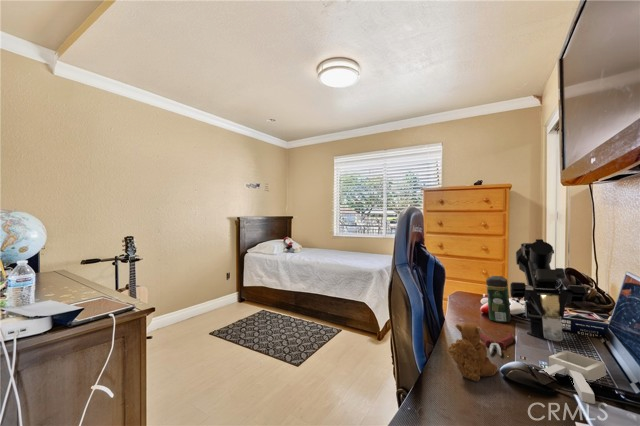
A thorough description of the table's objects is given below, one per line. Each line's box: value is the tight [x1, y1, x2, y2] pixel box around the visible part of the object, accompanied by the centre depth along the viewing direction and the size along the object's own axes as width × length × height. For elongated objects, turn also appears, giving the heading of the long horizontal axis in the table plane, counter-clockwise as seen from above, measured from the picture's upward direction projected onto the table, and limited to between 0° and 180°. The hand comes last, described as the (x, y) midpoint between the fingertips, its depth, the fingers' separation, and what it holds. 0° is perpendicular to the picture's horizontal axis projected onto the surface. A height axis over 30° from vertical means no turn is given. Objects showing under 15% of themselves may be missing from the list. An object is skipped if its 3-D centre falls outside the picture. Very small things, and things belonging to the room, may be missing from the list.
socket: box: [541, 349, 607, 405], centre depth 70 cm, size 20×13×4 cm, turn 113°
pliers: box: [480, 331, 515, 357], centre depth 93 cm, size 12×20×3 cm, turn 149°
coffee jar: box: [485, 275, 512, 323], centre depth 118 cm, size 10×8×19 cm
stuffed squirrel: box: [446, 321, 498, 382], centre depth 76 cm, size 10×14×13 cm
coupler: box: [540, 293, 564, 342], centre depth 83 cm, size 4×4×13 cm
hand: (552, 316), depth 81 cm, fingers closed on coupler, 4 cm apart
